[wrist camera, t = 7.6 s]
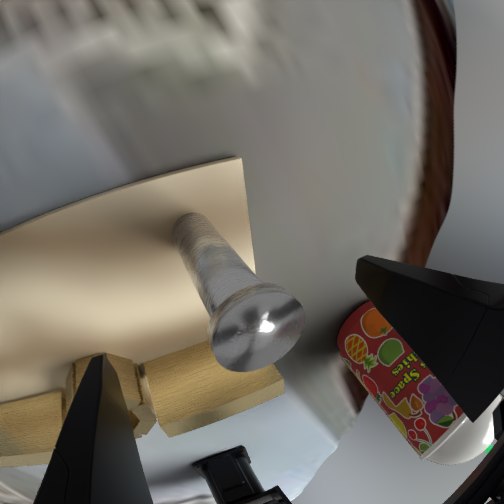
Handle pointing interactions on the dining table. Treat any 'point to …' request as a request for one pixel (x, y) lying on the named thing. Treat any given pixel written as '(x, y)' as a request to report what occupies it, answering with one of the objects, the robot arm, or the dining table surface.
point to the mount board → (110, 276)
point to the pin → (236, 300)
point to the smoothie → (411, 391)
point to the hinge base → (183, 389)
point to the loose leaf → (31, 429)
